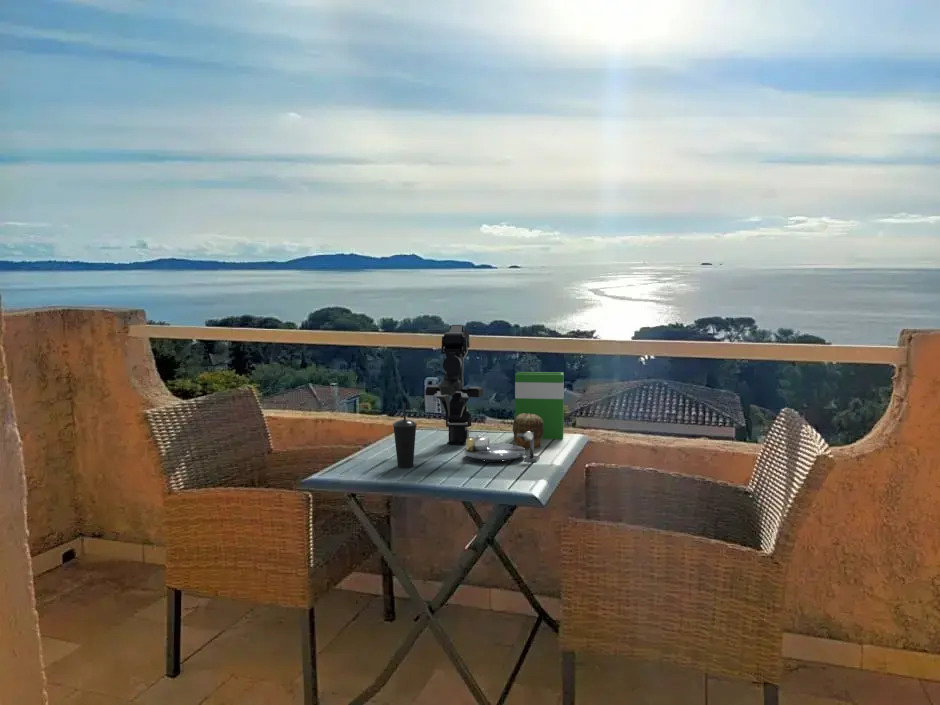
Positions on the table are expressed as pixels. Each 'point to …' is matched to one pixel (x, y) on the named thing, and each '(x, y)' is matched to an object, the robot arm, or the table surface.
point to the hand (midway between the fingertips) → (454, 416)
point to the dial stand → (530, 437)
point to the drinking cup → (405, 441)
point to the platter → (494, 451)
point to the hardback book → (542, 399)
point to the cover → (480, 443)
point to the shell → (528, 429)
